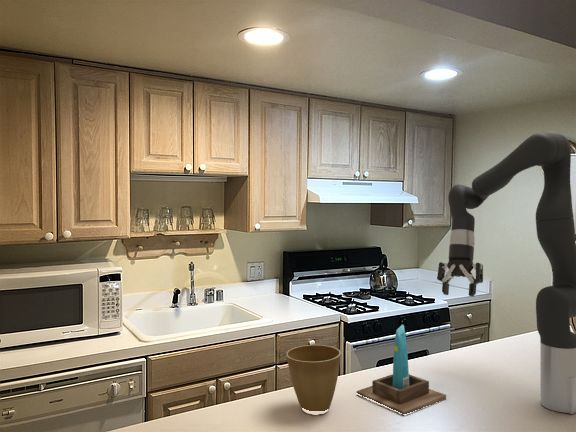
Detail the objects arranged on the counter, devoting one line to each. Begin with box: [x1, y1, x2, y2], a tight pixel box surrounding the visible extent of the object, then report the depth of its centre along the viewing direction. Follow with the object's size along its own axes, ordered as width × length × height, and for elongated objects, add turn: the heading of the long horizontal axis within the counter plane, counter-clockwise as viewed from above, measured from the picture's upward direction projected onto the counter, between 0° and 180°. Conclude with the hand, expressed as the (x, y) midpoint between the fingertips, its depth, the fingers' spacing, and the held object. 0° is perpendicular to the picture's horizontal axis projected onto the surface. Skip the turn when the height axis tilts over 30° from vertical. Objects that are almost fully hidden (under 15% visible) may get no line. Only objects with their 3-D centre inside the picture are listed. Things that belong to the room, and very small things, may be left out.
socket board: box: [356, 373, 447, 414], centre depth 140 cm, size 18×18×5 cm
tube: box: [392, 324, 410, 389], centre depth 140 cm, size 7×5×19 cm, turn 157°
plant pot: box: [286, 344, 342, 411], centre depth 132 cm, size 15×15×16 cm
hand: (458, 295), depth 152 cm, fingers open, 8 cm apart
